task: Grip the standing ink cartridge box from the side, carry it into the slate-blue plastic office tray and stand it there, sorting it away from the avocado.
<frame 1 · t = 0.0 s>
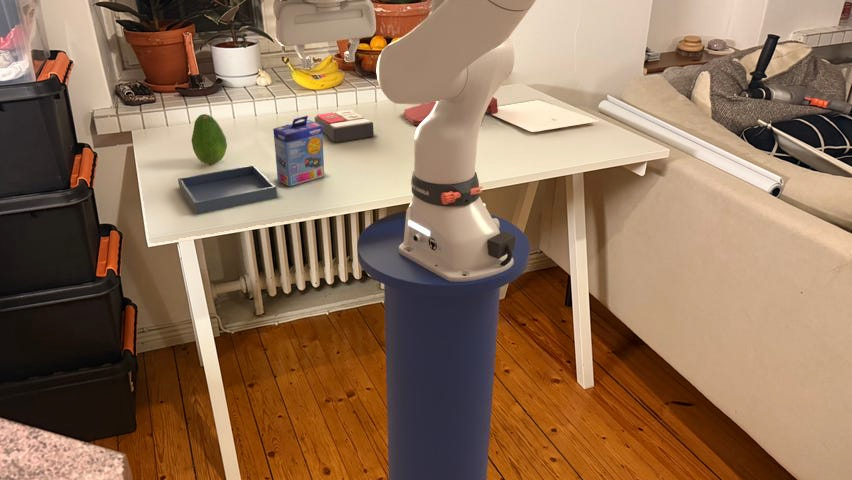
hand: (328, 64, 140), 26 cm above the table, tool pointing down, fingers open, 8 cm apart
dark grey package: (343, 132, 186), on the table
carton: (450, 116, 197), on the table, touching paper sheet
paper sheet: (536, 117, 194), on the table, touching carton
avocado: (212, 164, 167), on the table
ink cartridge box: (301, 179, 157), on the table
office tray: (227, 193, 150), on the table
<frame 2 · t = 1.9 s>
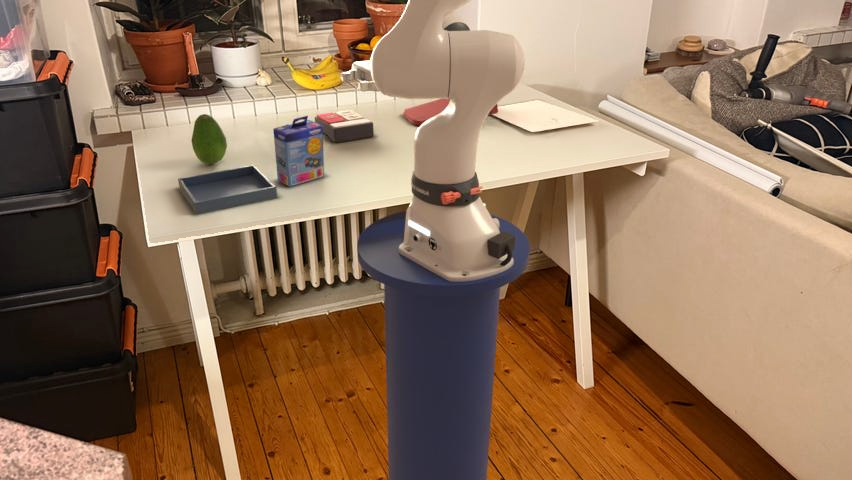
hand: (350, 82, 152), 20 cm above the table, tool horizontal, fingers open, 8 cm apart
nothing on the table moved.
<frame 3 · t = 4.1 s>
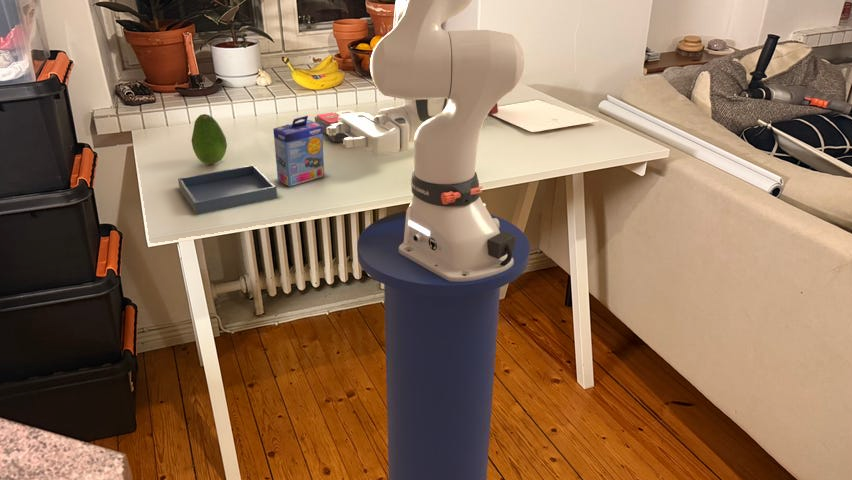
hand: (335, 137, 156), 8 cm above the table, tool horizontal, fingers open, 8 cm apart
nothing on the table moved.
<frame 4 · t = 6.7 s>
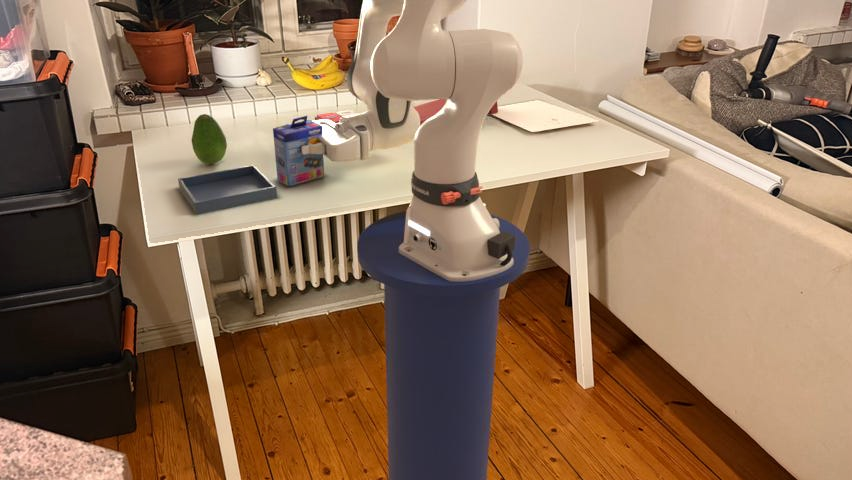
hand: (295, 145, 153), 8 cm above the table, tool horizontal, fingers closed on ink cartridge box, 6 cm apart
ink cartridge box: (301, 179, 157), on the table, touching gripper
everything else where it was.
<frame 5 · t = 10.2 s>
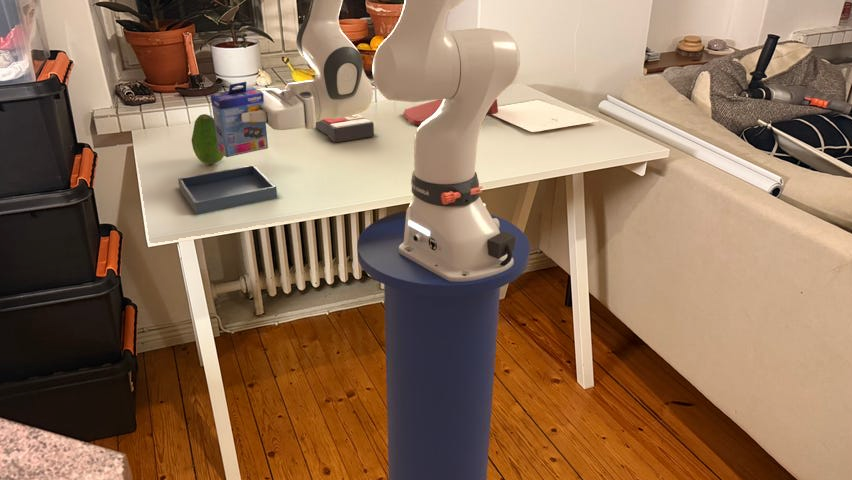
hand: (236, 113, 144), 17 cm above the table, tool horizontal, fingers closed on ink cartridge box, 5 cm apart
ink cartridge box: (243, 150, 148), point 9 cm above the table, touching gripper
everything else where it was.
when the fingers open (8 cm above the table, at t = 13.7 s): ink cartridge box stays where it is, resting on office tray.
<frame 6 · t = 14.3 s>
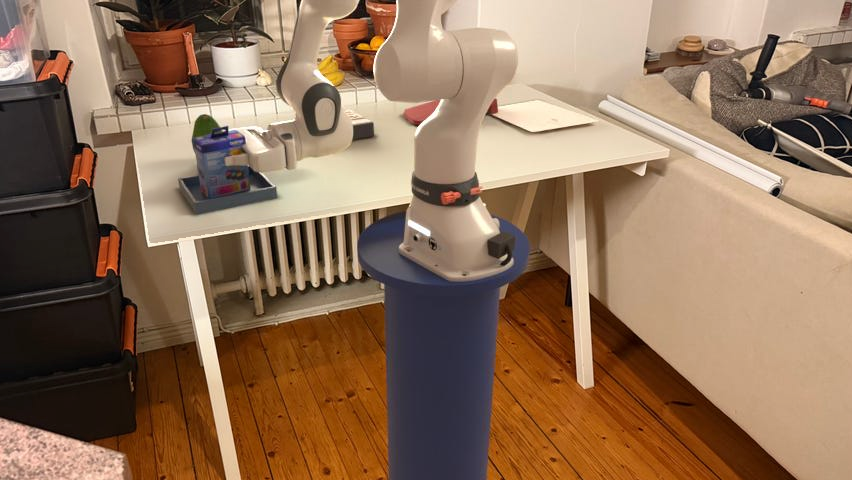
hand: (218, 154, 146), 9 cm above the table, tool horizontal, fingers open, 8 cm apart
ink cartridge box: (226, 191, 150), resting on office tray
everything else where it was.
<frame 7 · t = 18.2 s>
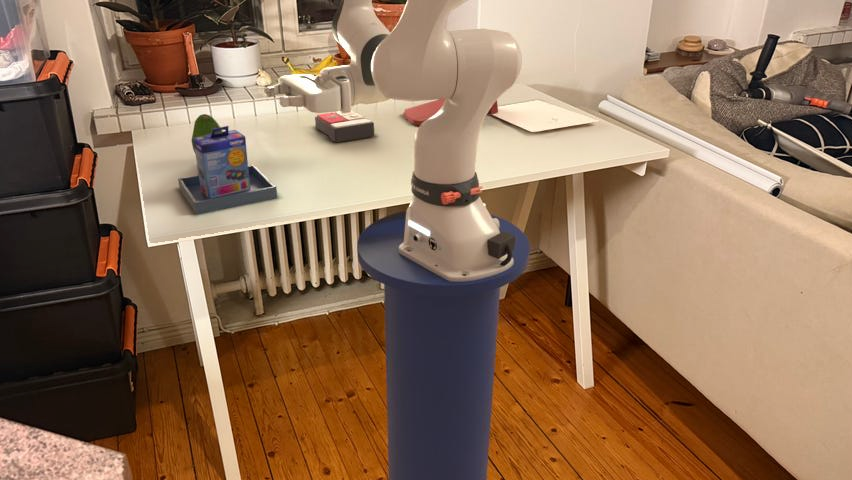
hand: (272, 97, 146), 19 cm above the table, tool horizontal, fingers open, 8 cm apart
nothing on the table moved.
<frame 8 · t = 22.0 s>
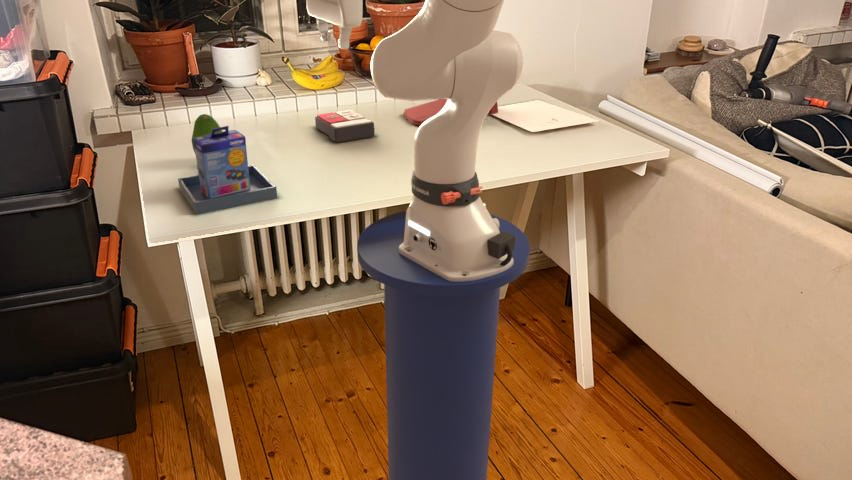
hand: (334, 44, 143), 29 cm above the table, tool pointing down, fingers open, 8 cm apart
nothing on the table moved.
at the end: ink cartridge box inside the target area in the office tray (0.4 cm from its centre), point 0.3 cm above the office tray's base; ink cartridge box tilted 0°; the gripper is holding nothing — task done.
